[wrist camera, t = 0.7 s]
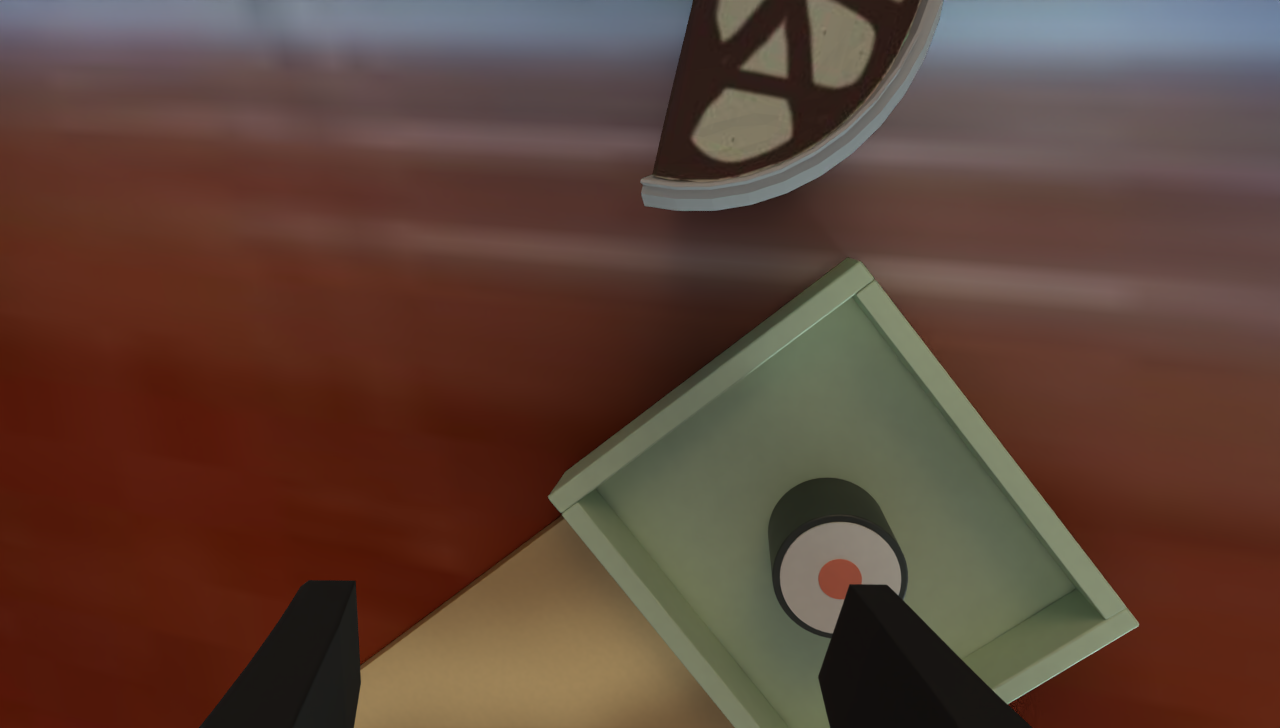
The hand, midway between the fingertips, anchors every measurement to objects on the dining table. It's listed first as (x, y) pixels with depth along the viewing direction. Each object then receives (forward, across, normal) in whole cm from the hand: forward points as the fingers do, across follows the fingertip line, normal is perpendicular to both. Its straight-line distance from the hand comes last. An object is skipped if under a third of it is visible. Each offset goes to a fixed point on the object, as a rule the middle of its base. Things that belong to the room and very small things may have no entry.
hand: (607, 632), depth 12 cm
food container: (+21, -8, -6) cm, 23 cm away
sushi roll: (+14, -11, +10) cm, 20 cm away
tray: (+14, -11, +10) cm, 21 cm away
